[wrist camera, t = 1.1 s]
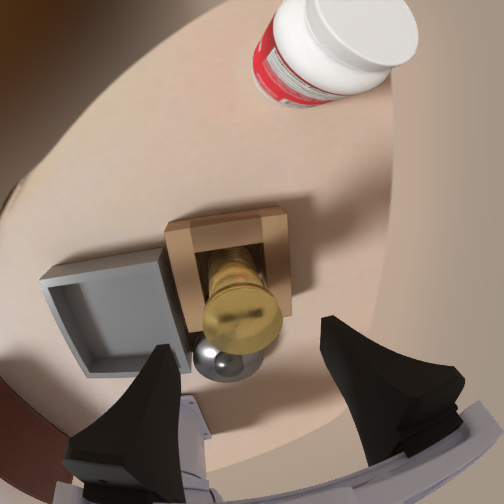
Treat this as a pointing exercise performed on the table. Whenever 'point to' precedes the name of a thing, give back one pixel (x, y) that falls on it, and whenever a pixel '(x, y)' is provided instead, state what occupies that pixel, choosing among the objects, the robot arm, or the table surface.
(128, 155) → the table surface
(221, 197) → the table surface
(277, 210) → the block
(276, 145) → the table surface
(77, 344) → the tray
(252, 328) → the lock pin
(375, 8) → the pill bottle
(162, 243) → the table surface
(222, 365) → the pulley
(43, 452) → the letter holder
